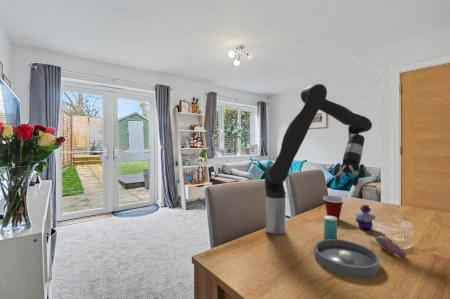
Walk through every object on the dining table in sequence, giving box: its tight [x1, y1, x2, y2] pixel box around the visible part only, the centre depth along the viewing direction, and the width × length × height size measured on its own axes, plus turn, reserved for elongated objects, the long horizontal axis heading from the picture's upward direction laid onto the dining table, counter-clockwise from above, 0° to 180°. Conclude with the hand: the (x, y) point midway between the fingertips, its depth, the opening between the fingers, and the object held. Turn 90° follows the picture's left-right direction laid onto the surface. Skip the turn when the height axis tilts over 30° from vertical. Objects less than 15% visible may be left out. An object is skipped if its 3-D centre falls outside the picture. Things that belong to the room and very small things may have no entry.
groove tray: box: [313, 238, 380, 279], centre depth 82 cm, size 21×21×4 cm
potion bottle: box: [355, 204, 376, 232], centre depth 112 cm, size 9×9×12 cm
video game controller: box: [374, 235, 407, 258], centre depth 89 cm, size 10×5×7 cm, turn 5°
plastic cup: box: [322, 195, 345, 221], centre depth 126 cm, size 11×11×12 cm
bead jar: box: [323, 215, 338, 240], centre depth 100 cm, size 5×5×10 cm
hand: (345, 184), depth 107 cm, fingers open, 8 cm apart
